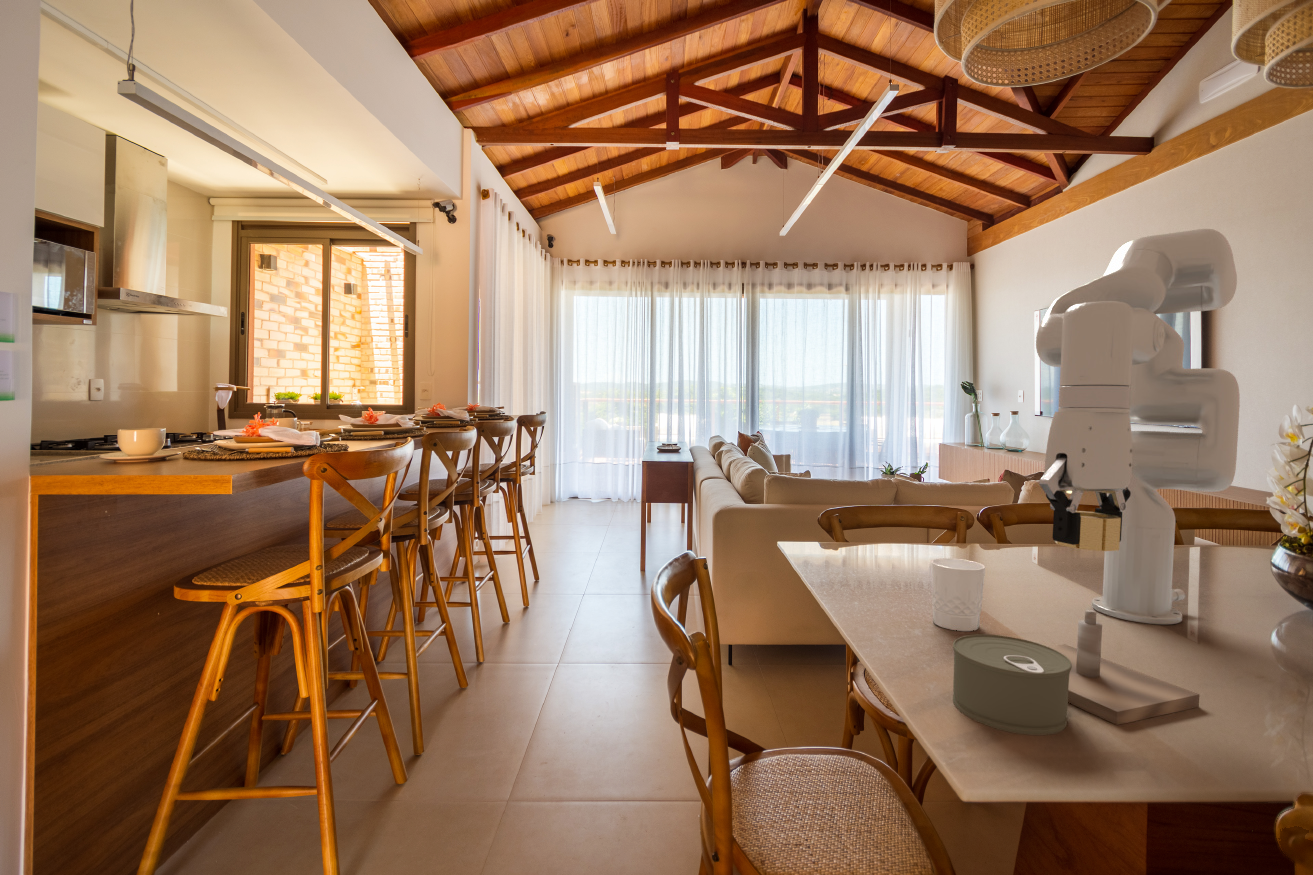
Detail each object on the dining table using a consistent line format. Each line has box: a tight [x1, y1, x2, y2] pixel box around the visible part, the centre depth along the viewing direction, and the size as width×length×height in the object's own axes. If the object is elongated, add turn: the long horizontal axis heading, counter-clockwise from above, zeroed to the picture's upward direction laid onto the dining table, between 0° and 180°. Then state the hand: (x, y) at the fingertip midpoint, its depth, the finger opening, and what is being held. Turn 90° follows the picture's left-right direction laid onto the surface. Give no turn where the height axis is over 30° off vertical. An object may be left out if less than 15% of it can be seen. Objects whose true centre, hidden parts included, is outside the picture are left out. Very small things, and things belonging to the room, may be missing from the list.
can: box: [952, 634, 1072, 736], centre depth 75 cm, size 12×12×7 cm
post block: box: [1048, 609, 1201, 726], centre depth 82 cm, size 14×17×10 cm
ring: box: [1054, 510, 1121, 552], centre depth 83 cm, size 7×7×4 cm
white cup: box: [930, 557, 986, 632], centre depth 104 cm, size 8×8×10 cm
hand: (1086, 540), depth 83 cm, fingers closed on ring, 6 cm apart
